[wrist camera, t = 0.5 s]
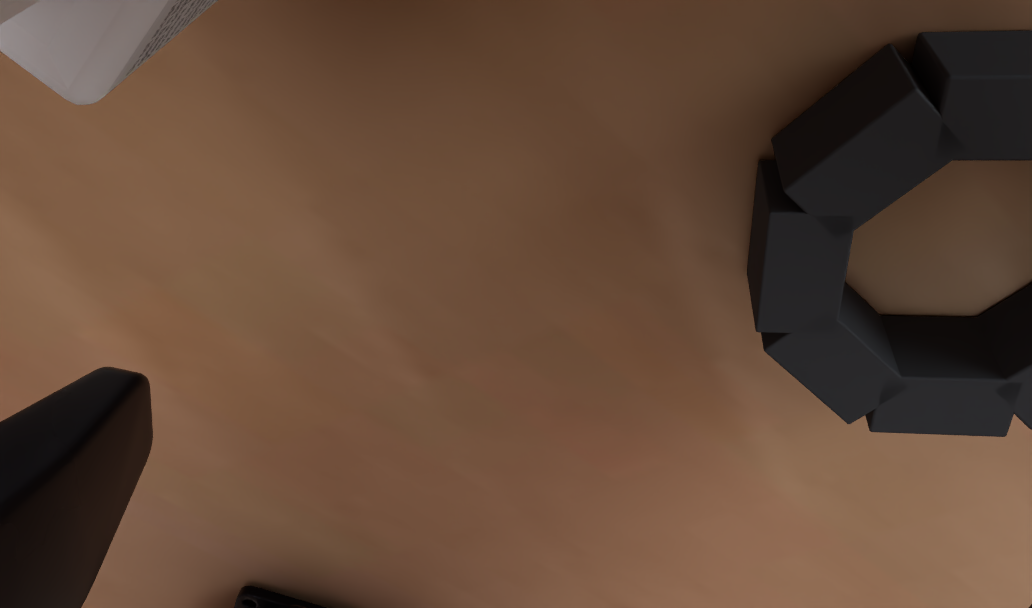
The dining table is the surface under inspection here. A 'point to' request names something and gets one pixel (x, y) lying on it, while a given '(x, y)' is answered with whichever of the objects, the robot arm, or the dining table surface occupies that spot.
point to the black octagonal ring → (864, 193)
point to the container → (90, 39)
